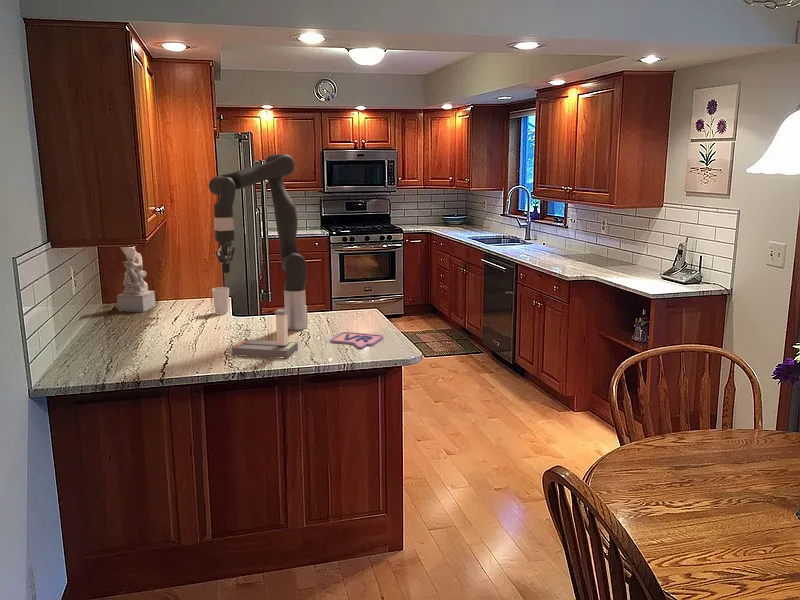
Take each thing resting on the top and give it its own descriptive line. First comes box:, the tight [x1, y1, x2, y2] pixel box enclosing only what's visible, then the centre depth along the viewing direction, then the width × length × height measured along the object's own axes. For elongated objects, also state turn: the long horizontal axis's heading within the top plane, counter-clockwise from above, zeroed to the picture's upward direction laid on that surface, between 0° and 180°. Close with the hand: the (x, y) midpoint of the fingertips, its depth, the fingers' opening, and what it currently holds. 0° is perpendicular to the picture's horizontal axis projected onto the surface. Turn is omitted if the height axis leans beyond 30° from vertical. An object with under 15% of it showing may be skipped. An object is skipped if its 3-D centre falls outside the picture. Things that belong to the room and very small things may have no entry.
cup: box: [211, 286, 230, 315], centre depth 323 cm, size 8×8×12 cm
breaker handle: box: [274, 308, 289, 346], centre depth 254 cm, size 5×4×13 cm
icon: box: [329, 331, 384, 350], centre depth 273 cm, size 19×2×20 cm
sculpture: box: [116, 246, 156, 313], centre depth 330 cm, size 13×13×35 cm
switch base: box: [231, 339, 299, 359], centre depth 257 cm, size 12×22×3 cm, turn 79°
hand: (226, 272), depth 264 cm, fingers closed
